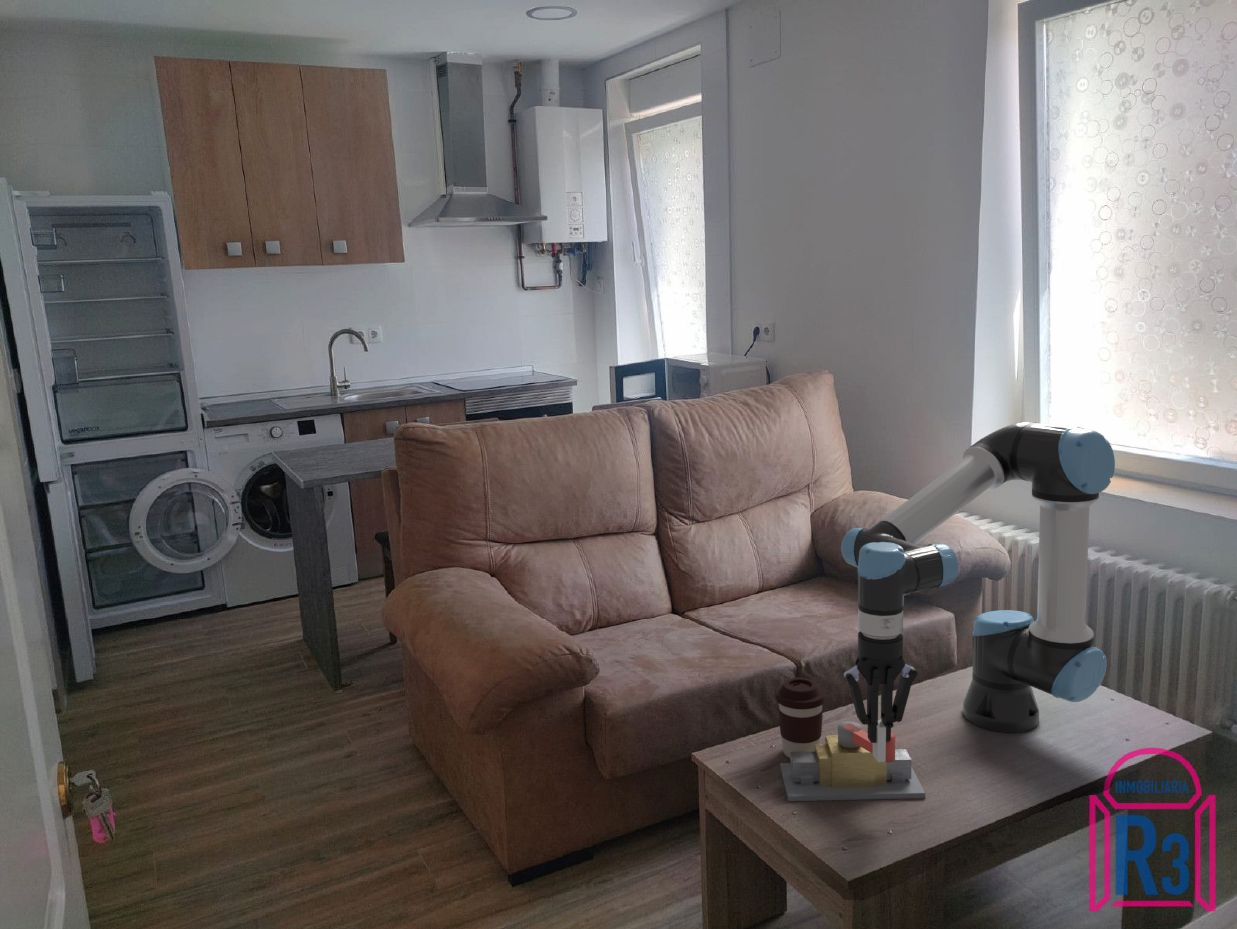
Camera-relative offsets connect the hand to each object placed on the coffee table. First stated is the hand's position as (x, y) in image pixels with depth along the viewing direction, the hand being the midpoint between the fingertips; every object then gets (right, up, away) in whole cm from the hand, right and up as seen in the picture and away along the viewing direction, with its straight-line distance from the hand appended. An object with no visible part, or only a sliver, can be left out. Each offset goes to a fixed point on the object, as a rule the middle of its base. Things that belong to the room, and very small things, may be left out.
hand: (879, 758), depth 164 cm
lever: (0, -1, +7) cm, 7 cm away
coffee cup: (-9, -7, +24) cm, 27 cm away
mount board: (-2, -9, +12) cm, 15 cm away
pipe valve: (-2, -9, +12) cm, 15 cm away
